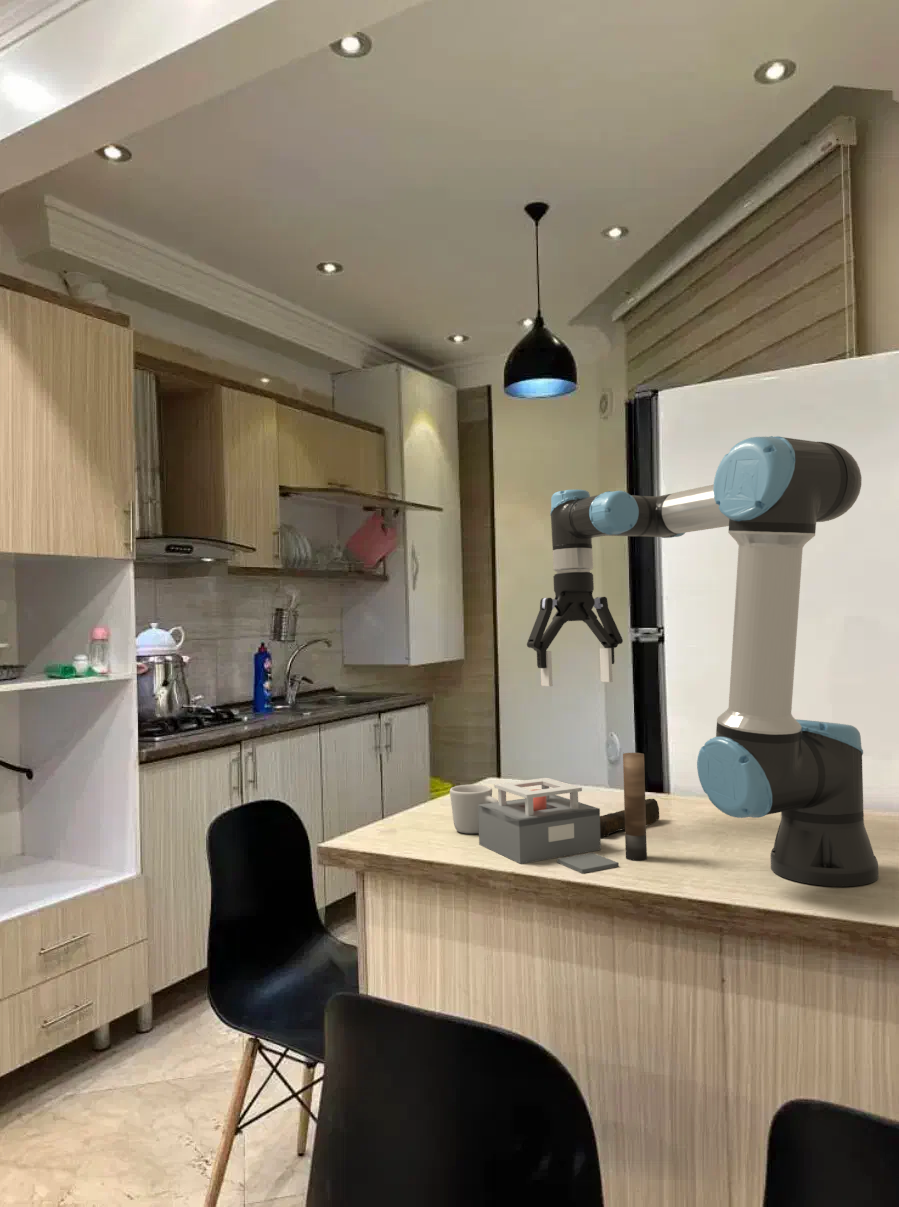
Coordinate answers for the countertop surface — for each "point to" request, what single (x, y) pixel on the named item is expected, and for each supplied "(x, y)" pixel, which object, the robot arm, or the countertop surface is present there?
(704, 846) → the countertop surface
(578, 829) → the framed red button box
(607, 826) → the hand tool
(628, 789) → the brown wooden rod
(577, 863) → the pad
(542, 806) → the plunger
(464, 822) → the cup
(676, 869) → the countertop surface
